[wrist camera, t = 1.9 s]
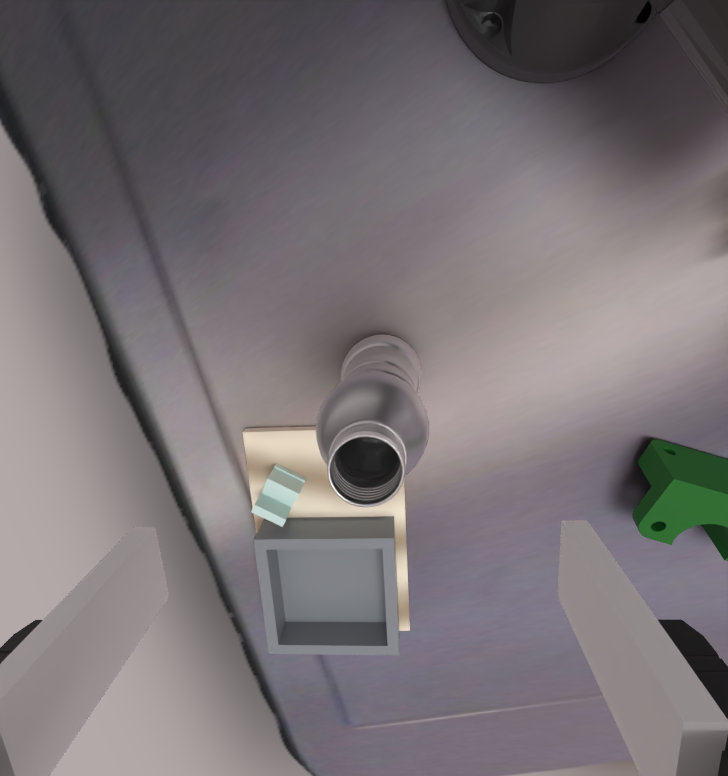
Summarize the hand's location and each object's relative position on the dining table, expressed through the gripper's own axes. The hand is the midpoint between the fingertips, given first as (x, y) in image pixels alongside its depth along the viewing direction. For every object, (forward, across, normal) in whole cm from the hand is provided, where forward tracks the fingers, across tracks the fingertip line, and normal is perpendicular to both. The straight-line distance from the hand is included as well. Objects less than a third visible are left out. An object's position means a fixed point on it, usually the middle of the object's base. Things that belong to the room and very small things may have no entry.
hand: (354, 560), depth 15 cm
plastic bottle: (+27, 0, 0) cm, 27 cm away
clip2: (+25, -10, -10) cm, 29 cm away
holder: (+25, -6, -19) cm, 32 cm away
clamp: (+27, +26, -12) cm, 39 cm away
